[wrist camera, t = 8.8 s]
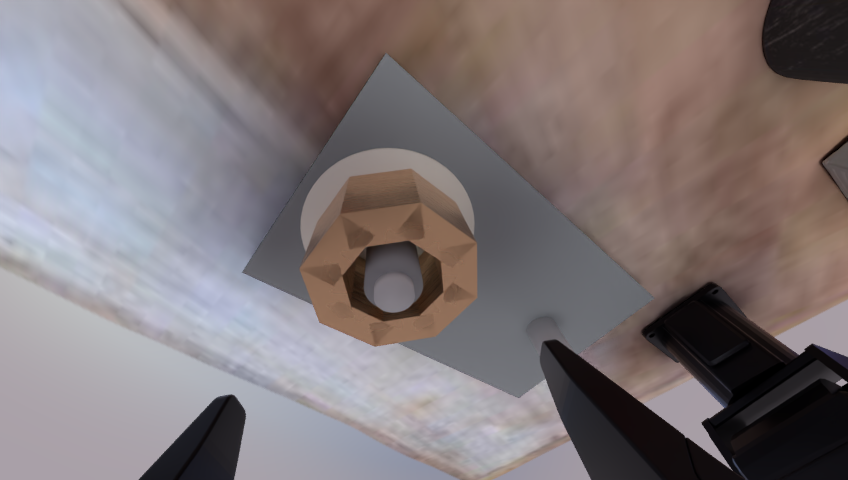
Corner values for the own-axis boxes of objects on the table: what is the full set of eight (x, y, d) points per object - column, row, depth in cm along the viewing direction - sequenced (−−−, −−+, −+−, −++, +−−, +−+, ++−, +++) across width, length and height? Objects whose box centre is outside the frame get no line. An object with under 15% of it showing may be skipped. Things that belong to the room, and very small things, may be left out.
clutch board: (639, 284, 23) (724, 359, 17) (511, 381, 27) (546, 467, 21) (385, 53, 14) (389, 50, 8) (252, 256, 18) (192, 349, 12)
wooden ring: (453, 162, 15) (476, 194, 11) (459, 278, 18) (477, 329, 15) (305, 182, 14) (281, 222, 11) (340, 296, 18) (331, 353, 14)
